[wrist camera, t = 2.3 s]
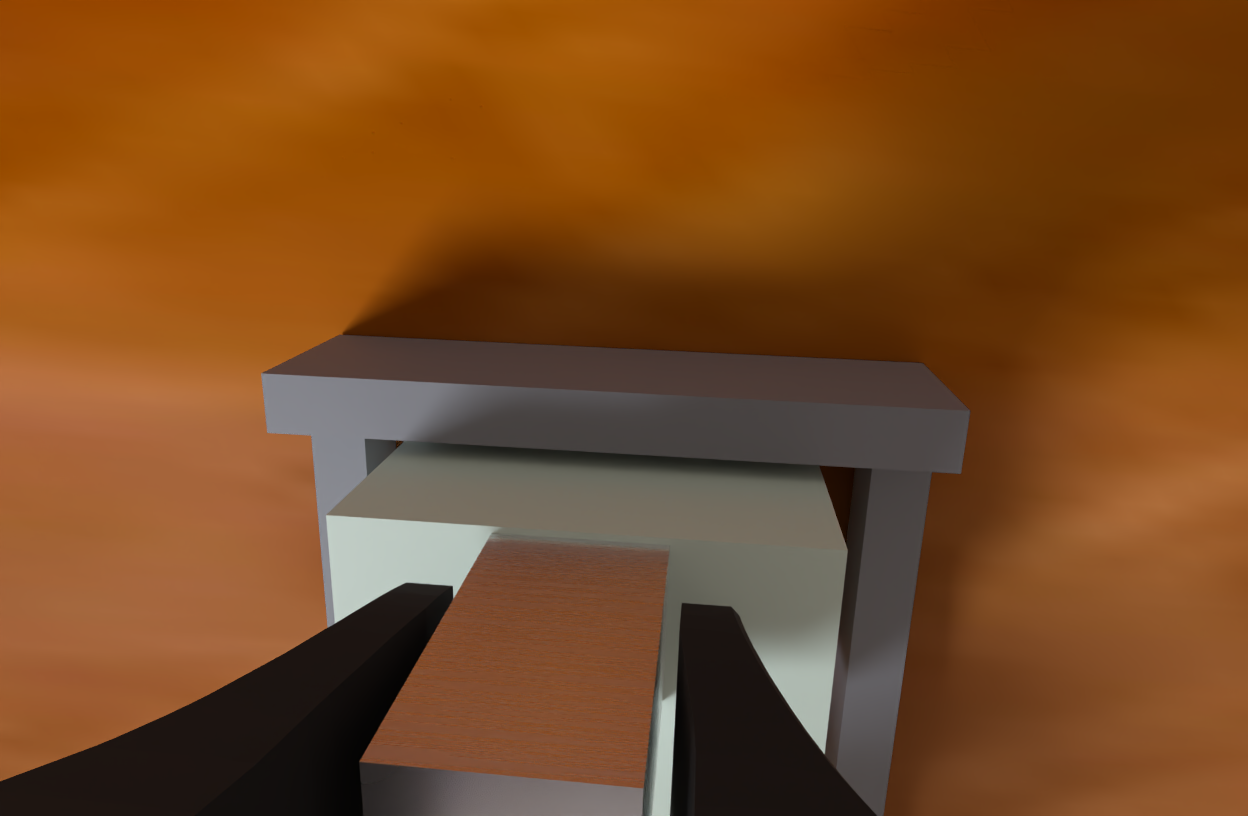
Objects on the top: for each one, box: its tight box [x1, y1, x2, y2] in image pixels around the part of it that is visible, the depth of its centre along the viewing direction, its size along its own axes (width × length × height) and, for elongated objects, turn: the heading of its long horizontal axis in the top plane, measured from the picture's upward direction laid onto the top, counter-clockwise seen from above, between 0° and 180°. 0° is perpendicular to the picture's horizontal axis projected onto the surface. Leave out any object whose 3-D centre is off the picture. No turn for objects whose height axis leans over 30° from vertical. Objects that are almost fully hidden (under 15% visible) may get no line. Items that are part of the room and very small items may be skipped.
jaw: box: [326, 441, 848, 816], centre depth 12 cm, size 7×5×10 cm
